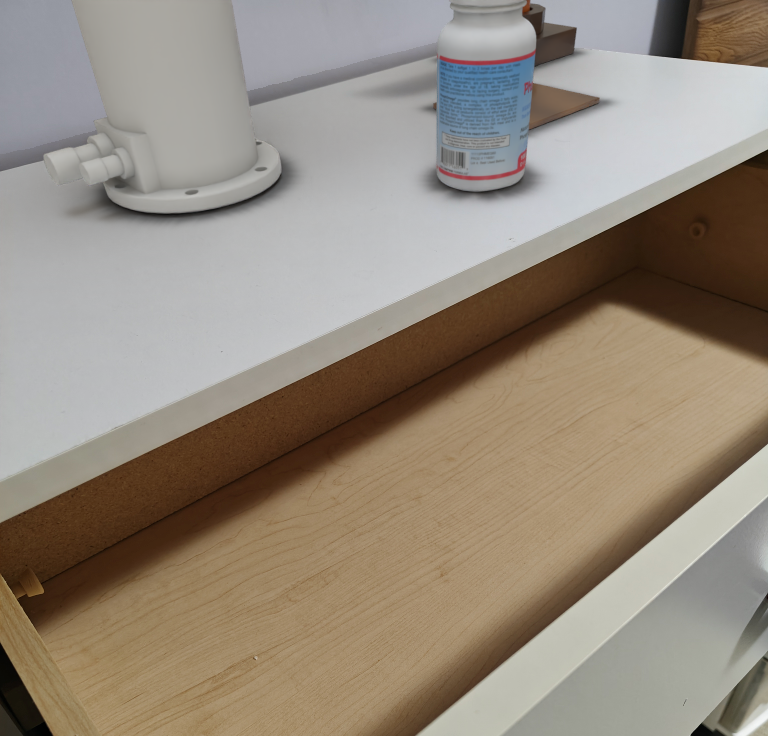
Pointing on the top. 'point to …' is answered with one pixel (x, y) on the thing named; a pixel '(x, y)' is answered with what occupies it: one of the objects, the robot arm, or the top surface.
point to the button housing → (549, 36)
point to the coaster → (554, 104)
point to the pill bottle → (484, 94)
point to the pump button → (526, 7)
